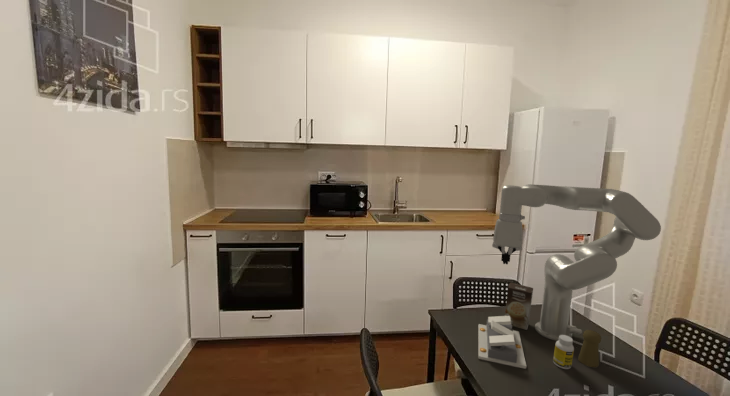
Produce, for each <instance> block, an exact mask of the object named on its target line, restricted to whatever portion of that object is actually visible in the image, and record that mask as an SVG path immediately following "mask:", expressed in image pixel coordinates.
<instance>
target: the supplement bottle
mask: <svg viewBox="0 0 730 396" xmlns="http://www.w3.org/2000/svg"><path fill="white" fill-rule="evenodd" d="M573 342H574V339H573V338H572V336H571V337H569V336H566V335H560V336H559V340H558V341H555V346H554V352H553V359H552V362H553V364H554V365H555V366H557V367H559V368H560V369H564V370H569V369H571V368H572V365H573V359H574V352H575V347H574V345H573Z"/></svg>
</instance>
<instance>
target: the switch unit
mask: <svg viewBox="0 0 730 396" xmlns="http://www.w3.org/2000/svg"><path fill="white" fill-rule="evenodd" d="M502 326H504V327H506V328H507V329H509V330H511V331H513V334H514V341H515V345H504V347H501V346H490V340H489V336H499V335H500V333H498V332H496V331H494V330H492V329H491V325H489V322H488V318H486V324H482V323H481V324H480V323H478V327H477V328H478V332H477V333H478V334H477V336H478V338H477V340H478V344H477V345H478V347H477V348H478V349H477V350H478V351H477V353H478V354H477V355H478V356H477V358H478V359H479V360H482V361H486V362H493V363H496V364H500V365H506V366H510V367H515V368H521V369H525V370H526V369H527V362H526V359H525V354H524V349H523V344H522V339H521V335H520V331H518V330H514V329H513V326H512V324H507V325H502Z"/></svg>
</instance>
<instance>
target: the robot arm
mask: <svg viewBox="0 0 730 396" xmlns="http://www.w3.org/2000/svg"><path fill="white" fill-rule="evenodd" d="M545 205H550V206H556V207H559V208H563V209H567V210H573V211H588V212H603V213H609V214H611V215H614V217H615V219H614V222H613V225H612V228H611V230H610V232H608V233H607V234H605V235H604V236H603V237H600V238H598V239H595V240H593V241H590V242H588V243H586V244H583V245H581V246H579V247H578V248H576V249H575V251H574V253H573V257H574V260H575V261H573V260H572V259H570V258H569V257H568V256H566V255H563V254H559V253H558V254H553V255H550V256H549V257H548V258H547V259H546V261H545V263H544V285H543V294H542V301H541V302H542V303H541V309H540V319H539V321H537V322H536V323H535V324H534V329H535V331H536V332H537V333H538V334H539V335H541V336H542V337H544V338H546V339H549V340H552V341H555V342H557V341H558V340H559V336H560V335H566V336H569V337H571V338H572V334H575V335H583V330H582V329H580V328H577V325H570V324H569V320H570V313H571V304H572V298H573V291H576V290H580V289H581V290H582V289H583V288H586V287H588V286H591V285H594V284H596V283H598V282H600V281H604V280H606V279H607V278H610V277H611V276H612V275H613V274H614V273H615V272H616V270H617V267H618V261H617V258H620V257H622V256H624V255H625V254H627V253H629V251H630V250H631V249H632V248H633V244H634V243H635V241H636V239H638V240H641V241H651V240H654V239H656V238H657V237H658V236H659V235H660V234H661V230H662V225H661V223H660V221H659V220H658V218H656V216H654V214H653V213H652V212H650V210H648V208H646V207H645V205H644V204H642V203H641V202H640V201H639V200H638V199H637V198H636V197H635V196H634V195H632V194H631V193H629V192H625V191H623V190H618V189H613V188H604V187H603V188H599V187H597V188H595V187H580V186H566V185H565V186H562V185H561V186H559V185H549V184H548V185H546V184H525V185H523V186H519V185H510V184H509V185H504V186H503V187H502V188H501V198H500V205H499V206H500V207H499V218H498V219H496V221H495V224H494V225H495V226H494V231H493V238H492V239H493V242H492V245H491V246H492V248H494V249H497V250H499V252H500V253H501V260H500V261H501V262H502V264H503V265H508V264H509V263H510V261H511V255H512V254H513V253H515V252H521V251H522V250H523V246H522V245H523V221H522V220H525V219H526V217H525V215H524V214H523V215H522V208H523V207H524V206H525V207H531V208H540V207H543V206H545ZM522 206H523V207H522ZM506 248H508V249H507V251H506Z"/></svg>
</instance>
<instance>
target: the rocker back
mask: <svg viewBox="0 0 730 396" xmlns="http://www.w3.org/2000/svg"><path fill="white" fill-rule="evenodd" d="M487 319H488V322H489V325H491V322H492V320H493V321H494V322H496V323H498V324H500V325H507V324H511V319H510V316H505V315H498V316H496V315H495V316H487Z"/></svg>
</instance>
